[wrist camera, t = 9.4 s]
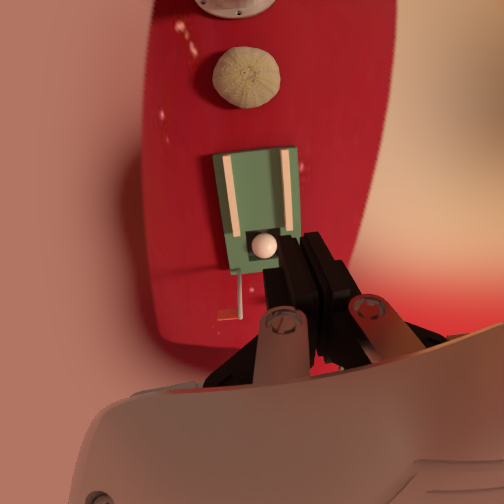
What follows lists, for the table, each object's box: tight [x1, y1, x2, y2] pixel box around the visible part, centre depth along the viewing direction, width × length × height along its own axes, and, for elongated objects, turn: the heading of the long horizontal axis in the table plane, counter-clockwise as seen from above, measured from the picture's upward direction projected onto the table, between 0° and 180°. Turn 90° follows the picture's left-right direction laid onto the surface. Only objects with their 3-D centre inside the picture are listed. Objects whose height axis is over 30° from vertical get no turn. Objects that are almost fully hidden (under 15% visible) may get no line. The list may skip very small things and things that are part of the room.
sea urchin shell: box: [212, 46, 281, 108], centre depth 33 cm, size 9×8×8 cm
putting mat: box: [213, 146, 301, 321], centre depth 38 cm, size 20×14×14 cm
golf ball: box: [252, 233, 277, 258], centre depth 45 cm, size 4×4×4 cm
